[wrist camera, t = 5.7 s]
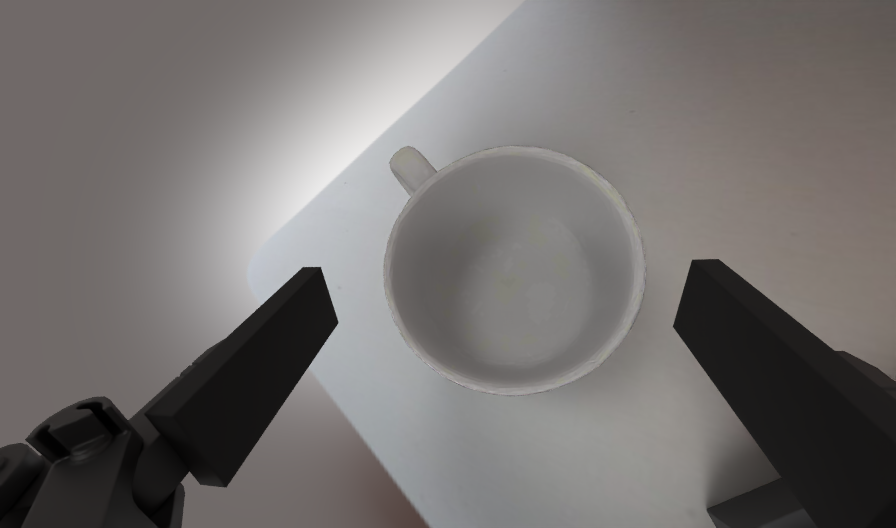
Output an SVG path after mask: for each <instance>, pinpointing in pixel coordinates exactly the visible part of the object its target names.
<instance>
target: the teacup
mask: <svg viewBox="0 0 896 528" xmlns="http://www.w3.org/2000/svg"><path fill="white" fill-rule="evenodd" d="M389 164H390V169H391V171H392V172H393V174H394V175H395V177H396V178H397V180H398V181H399V183H400V184H401V185H402V186H403V188H404V189H405V190H406V191H407V193H408V194H409V195H410V196H411V198H410V199H409V200H408V202H407V204H406V205H405V207H404V209H403V210H402V212H401V213H400V215H399V216H398V218H397V220H396V222H395V224H394V226H393V228H392V231H391V234H390V237H389V240H388V243H387V248H386V253H385V258H384V287H385V293H386V298H387V301H388V304H389V308H390V311H391V314H392V317H393V320H394V322H395V324H396V326H397V328H398V330H399V332H400V334H401V335H402V337H403V339H404V340H405V342H406V343H407V345H408V346H409V347H410V348H411V349H412V350H413V352H414V353H415V354H416V355H417V356H418V357H419V358H420V359H421V360H422V361H424V362H425V363H426V364H427V365H428V366H430V367H431V368H432V369H433V370H435V371H436V372H437V373H439V374H440V375H442V376H443V377H445V378H447V379H449V380H451V381H453V382H455V383H457V384H459V385H461V386H463V387H466V388H469V389H473V390H476V391H480V392H485V393H489V394H494V395H505V396H519V395H530V394H535V393H541V392H547V391H550V390H552V389H555V388H557V387H561V386H563V385H566V384H569V383H571V382H573V381H575V380H577V379H578V378H580V377H582V376H584V375H586V374H588V373H589V372H591V371H592V370H594V369H595V368H597V367H598V366H599V365H601V364H602V363H603V362H604V361H605V360H606V359H607V358H608V357H609V356H610V355H611V354H612V353H613V352H614V351H615V350H616V349H617V347H618V346H619V345H620V344H621V342H622V341H623V340H624V339H625V337H626V336H627V334H628V333H629V331H630V330H631V328H632V326H633V324H634V322H635V319H636V317H637V315H638V313H639V310H640V307H641V303H642V299H643V295H644V287H645V282H646V276H645V273H646V265H645V251H644V246H643V241H642V237H641V234H640V231H639V228H638V226H637V223H636V221H635V219H634V217H633V215H632V213H631V211H630V210H629V208H628V206H627V203H626V202H625V201H624V199H623V198H622V197H621V195H620V194H619V193H618V192H617V191H616V190H615V189H614V188H613V187H612V185H611V184H610V183H609V182H608V181H607V180H606V179H605V178H604V177H603V176H602V175H600V174H599V173H597V172H595V171H593V170H592V169H591V168H590V167H589V166H588V165H584V164H582V163H580V162H579V161H577V160H574V159H573V158H571V157H570V156H568V155H564V154H561V153H559V152H556V151H553V150H550V149H545V148H541V147H530V146H501V147H497V148H491V149H485V150H482V151H479V152H476V153H473V154H470V155H468V156H466V157H463V158H461V159H459V160H457V161H455V162H453V163H451V164H450V165H448V166H446V167H445V168H443V169H441V170H440V171H438V172H437V171H436V170H435V169H434V167H433V166H432V165H431V164H430V163H429V162H428V160H427V159H426V158H425V157H424V156H423V155H422V154H421V153H420V152H419V151H418V150H416V149H415V148H413V147H410V146H406V147H403V148H401V149H400V150H399V151H398V152H396V153H395V154H394V155H393V156H392V158H391V160H390V162H389Z"/></svg>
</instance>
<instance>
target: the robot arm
mask: <svg viewBox="0 0 896 528" xmlns="http://www.w3.org/2000/svg"><path fill="white" fill-rule="evenodd" d="M337 324H338V320H337V316H336V313H335V310H334V307H333V304H332V301H331V298H330V294H329V291H328V288H327V285H326V282H325V279H324V276H323V273H322V269H321V267H303V268H302V269H301V270H299V271H298V272H297V273H296V274H295V275H294V276H293V277H292V278H291V279H290V280H289V281H288V282H286V283H285V284H284V285H283V286H282V287H281V288H280V289H279V290H278V291H277V292H276V293H274V294H273V295H272V296H271V297H270V298H269V299H268V300H267V301H266V302H265V303H264V304H263V305H261V306H260V307H259V308H258V309H257V310H256V311H255V312H254V313H253V314H252V315H251V316H250V317H248V318H247V319H246V320H245V321H244V322H243V323H242V324H241V325H240V326H239V327H238V328H236V329H235V330H234V331H233V332H232V333H231V334H230V335H229V336H228V337H227V338H226V339H224V340H222V341H220V342H219V343H217V344H216V345H214V346H213V347H211V348H209V349H207V350H206V351H205V352H204V353H203V354H202V355H201V356H200V357H198V358H197V359H196V360H195V361H194V362H193V363H192V366H188V367H187V368H186V369H185V370H184V371H183V372H182V373H181V374H180V377H176V378H175V379H174V380H173V381H172V382H171V383H169V384H168V385H167V386H166V387H165V388H164V389H163V390H162V391H161V392H160V393H159V394H157V395H156V396H155V397H154V398H153V399H152V400H151V401H149V402H148V403H147V404H146V405H145V406H144V407H143V408H142V409H141V410H140V411H138V412H137V413H136V414H135V415H134V416H133V417H132V418H131V419H130V420H127V419H126V418H125V417H124V416H123V414H122V413H121V412H120V411H119V410H118V409H117V407H116V406H115V405H114V404H113V403H112V401H111V400H110V399H108V398H106V397H92V398H89V399H86V400H83V401H79V402H77V403H75V404H73V405H70V406H68V407H66V408H64V409H62V410H61V411H59V412H57V413H56V414H54V415H52V416H51V417H49V418H48V419H47V420H45V421H44V422H43V423H42V424H40V425H39V426H38V427H36V428H35V429H34V430H33V431H32V433H31V434H30V435H29V436H28V437H27V438H26V439H25V440H26V441H27V442H28V443H29V444H31V445H32V446H33V447H34V448H35V449H36V450H37V451H38V452H40V453H41V454H42V455H41V456H39V455H38V454H37V453H36V452H35V451H34V450H32V449H31V448H30V447H29V446H28V445H25V444H23V443H18V444H12V445H7V446H5V447H2V448H0V528H181V526H182V516H183V507H184V497H185V492H184V486H183V485H182V484H181V483H180V482H181V481H182V480H183V479H184V477H185V476H186V475H187V474H188V472H189V471H190V472H191V474H192V475H193V476H194V477H195V478H196V480H197V481H198V482H199V483H200V485H208V486H218V487H227V486H228V484H229V483H230V481H231V480H232V478H233V477H234V475H235V474H236V472H237V471H238V469H239V468H240V466H241V465H242V463H243V462H244V461H245V459H246V457H247V456H248V455H249V453H250V452H251V450H252V449H253V447H254V446H255V444H256V443H257V442H258V440H259V438H260V437H261V436H262V434H263V433H264V431H265V430H266V428H267V427H268V425H269V424H270V423H271V421H272V420H273V418H274V416H275V415H276V414H277V412H278V410H279V409H280V408H281V406H282V405H283V403H284V402H285V400H286V399H287V398H288V396H289V394H290V393H291V392H292V390H293V389H294V387H295V386H296V384H297V383H298V381H299V380H300V379H301V377H302V376H303V374H304V373H305V371H306V370H307V368H308V367H309V365H310V364H311V362H312V361H313V359H314V358H315V357H316V355H317V354H318V352H319V351H320V349H321V348H322V346H323V345H324V343H325V342H326V340H327V339H328V337H329V336H330V335H331V333H332V332H333V330H334V329H335V327H336V326H337ZM673 327H674V329H675V330H676V332H677V333H678V334H679V336H680V337H681V339H682V340H683V341H684V343H685V344H686V345H687V347H688V348H689V350H690V351H691V352H692V354H693V355H694V357H695V358H696V359H697V361H698V362H699V364H700V365H701V366H702V368H703V369H704V370H705V372H706V373H707V375H708V376H709V377H710V379H711V380H712V382H713V383H714V384H715V386H716V387H717V389H718V390H719V391H720V393H721V394H722V395H723V397H724V398H725V400H726V401H727V402H728V404H729V405H730V407H731V408H732V409H733V411H734V412H735V414H736V415H737V416H738V418H739V419H740V420H741V422H742V423H743V425H744V426H745V427H746V429H747V430H748V432H749V433H750V434H751V436H752V437H753V439H754V440H755V441H756V443H757V444H758V445H759V447H760V448H761V450H762V451H763V452H764V454H765V455H766V457H767V458H768V459H769V461H770V462H771V464H772V465H773V466H774V468H775V469H776V470H777V472H778V473H779V475H780V476H781V477H782V479H783V480H784V482H785V483H786V484H787V486H788V487H789V489H790V490H791V491H792V493H793V494H794V496H795V497H796V498H797V500H798V501H799V502H800V504H801V505H802V507H803V508H804V509H805V511H806V512H807V514H808V515H809V516H810V518H811V519H812V521H813V522H814V523H815V525H816V526H817V527H818V528H896V382H895V381H894V380H892V379H891V378H890V377H888V376H887V375H886V374H884V373H883V372H882V371H880V370H879V369H878V368H876V367H874V366H872V365H870V364H868V363H866V362H864V361H862V360H861V359H859V358H857V357H855V356H853V355H851V354H849V353H847V352H845V351H834V350H833V349H832V348H830V347H829V346H828V345H827V344H825V343H824V342H823V341H821V340H820V339H819V338H818V337H816V336H815V335H814V334H813V333H811V332H810V331H809V330H808V329H806V328H805V327H804V326H803V325H801V324H800V323H799V322H797V321H796V320H795V319H794V318H792V317H791V316H790V315H789V314H787V313H786V312H785V311H784V310H782V309H781V308H780V307H778V306H777V305H776V304H775V303H773V302H772V301H771V300H770V299H768V298H767V297H766V296H765V295H763V294H762V293H761V292H759V291H758V290H757V289H756V288H754V287H753V286H752V285H751V284H749V283H748V282H747V281H746V280H744V279H743V278H742V277H741V276H739V275H738V274H737V273H735V272H734V271H733V270H732V269H730V268H729V267H728V266H727V265H725V264H724V263H723V262H722V261H720V260H719V259H705V260H692V262H691V266H690V269H689V273H688V276H687V280H686V283H685V286H684V290H683V293H682V297H681V300H680V304H679V307H678V311H677V314H676V318H675V321H674V325H673Z"/></svg>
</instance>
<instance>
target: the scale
mask: <svg viewBox="0 0 896 528" xmlns="http://www.w3.org/2000/svg"><path fill="white" fill-rule="evenodd" d="M707 512H708V514H709V515H710V517H711V519H712V521H713V522H714V524H715V526H716V528H818V527H817V526H816V525H815V523H814V522H813V521H812V519H811V518H810V516H809V515H808V514H807V512H806V511H805V509H804V508H803V507H802V505H801V504H800V502H799V501H798V500H797V498H796V497H795V496H794V494H793V493H792V491H791V490H790V489H789V487H788V486H787V484H786V483H785V482H784V480H783V479H782V478H781V479H779V480H776V481H774V482H772V483H769V484H767V485H764V486H762V487H760V488H757V489H755V490H752V491H750V492H747V493H745V494H743V495H740V496H738V497H735V498H733V499H731V500H728V501H726V502H723V503H721V504H718V505H716V506H714V507H711V508H709V509H707Z"/></svg>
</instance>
